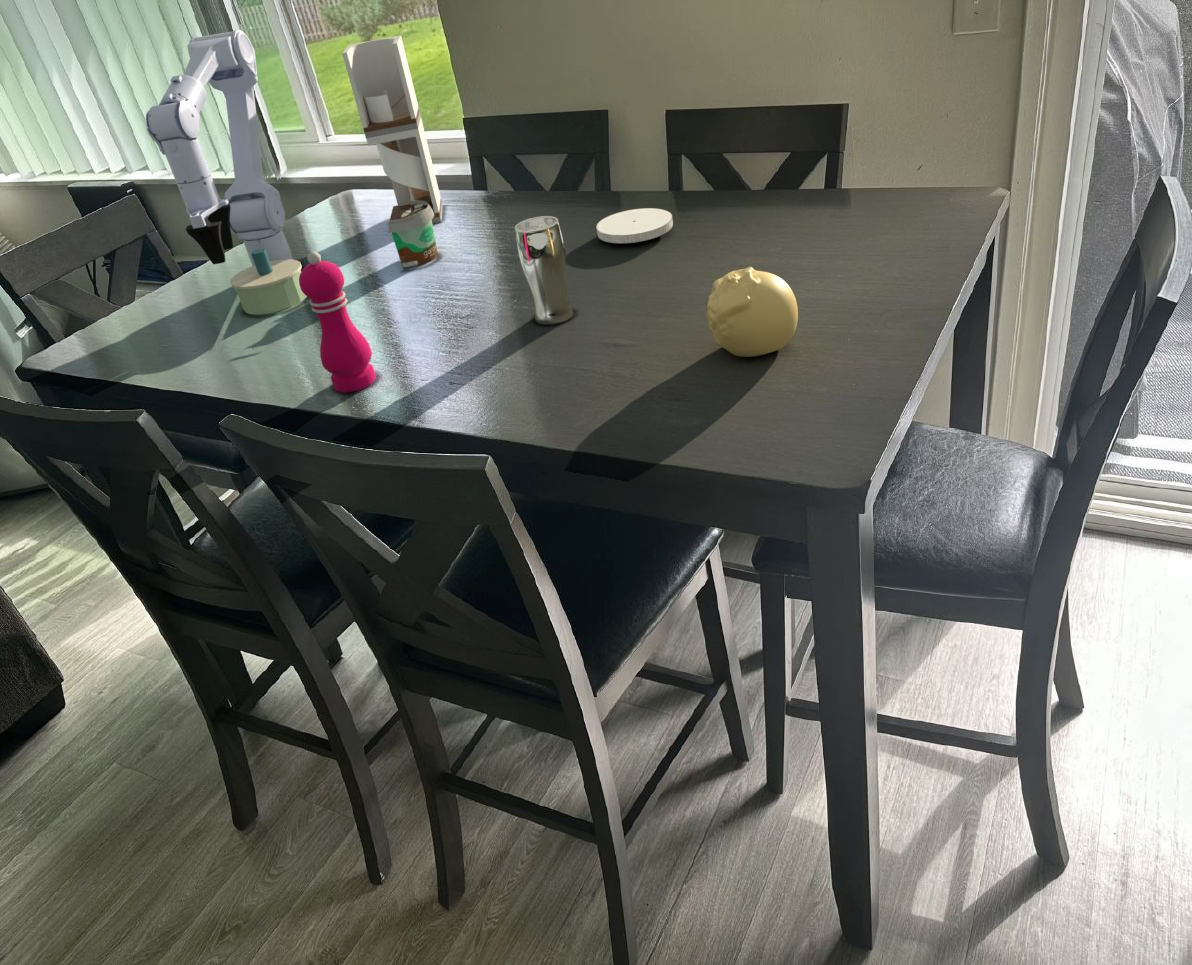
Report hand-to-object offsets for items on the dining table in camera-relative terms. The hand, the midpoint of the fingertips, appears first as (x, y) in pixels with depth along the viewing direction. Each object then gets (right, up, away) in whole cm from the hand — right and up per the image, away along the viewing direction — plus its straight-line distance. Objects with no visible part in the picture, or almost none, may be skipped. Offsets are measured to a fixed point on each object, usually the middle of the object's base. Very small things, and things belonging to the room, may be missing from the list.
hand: (223, 255), depth 164 cm
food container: (+34, +2, +13) cm, 36 cm away
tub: (+7, -7, +6) cm, 12 cm away
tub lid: (+7, -3, +3) cm, 8 cm away
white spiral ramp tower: (+27, +17, +37) cm, 49 cm away
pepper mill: (+30, -25, -27) cm, 48 cm away
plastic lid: (+73, +6, +8) cm, 74 cm away
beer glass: (+59, -14, -18) cm, 64 cm away
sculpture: (+87, -22, -37) cm, 97 cm away
